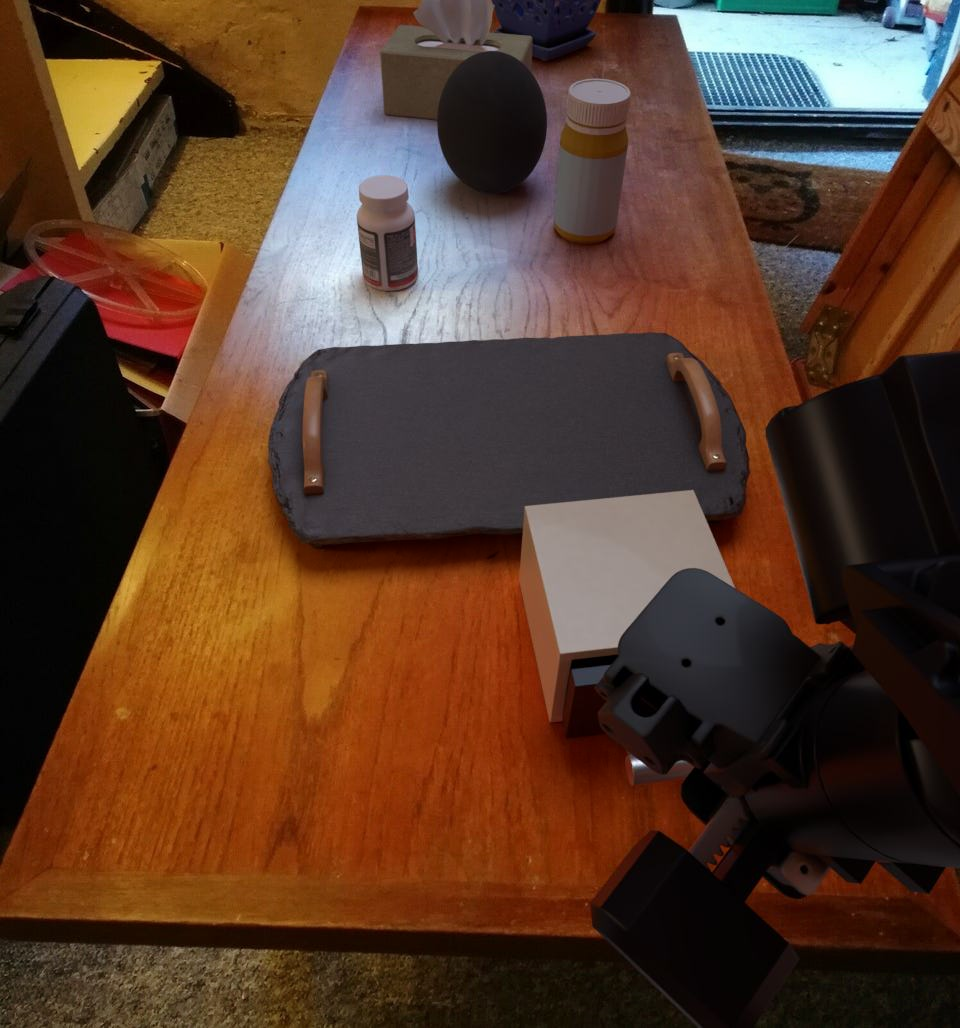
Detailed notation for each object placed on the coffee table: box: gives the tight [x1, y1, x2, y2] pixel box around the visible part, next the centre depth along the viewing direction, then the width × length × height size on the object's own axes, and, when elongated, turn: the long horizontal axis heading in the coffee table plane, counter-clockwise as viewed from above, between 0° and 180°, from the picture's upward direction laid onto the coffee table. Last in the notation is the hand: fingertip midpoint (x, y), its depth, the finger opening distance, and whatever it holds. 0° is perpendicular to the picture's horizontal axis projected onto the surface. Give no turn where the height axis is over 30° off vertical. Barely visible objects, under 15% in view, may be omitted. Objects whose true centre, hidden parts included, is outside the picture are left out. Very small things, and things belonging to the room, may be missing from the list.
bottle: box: [553, 78, 632, 245], centre depth 90 cm, size 7×7×15 cm
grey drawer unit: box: [518, 490, 736, 723], centre depth 56 cm, size 12×12×8 cm
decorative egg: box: [436, 51, 548, 194], centre depth 96 cm, size 12×12×15 cm
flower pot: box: [491, 0, 602, 62], centre depth 128 cm, size 13×13×12 cm
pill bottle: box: [356, 174, 419, 292], centre depth 85 cm, size 6×6×10 cm
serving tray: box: [267, 331, 751, 550], centre depth 70 cm, size 39×23×6 cm, turn 95°
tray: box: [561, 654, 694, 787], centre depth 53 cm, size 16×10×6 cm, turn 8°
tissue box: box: [379, 0, 533, 121], centre depth 111 cm, size 19×10×16 cm, turn 79°
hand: (728, 782), depth 40 cm, fingers closed
